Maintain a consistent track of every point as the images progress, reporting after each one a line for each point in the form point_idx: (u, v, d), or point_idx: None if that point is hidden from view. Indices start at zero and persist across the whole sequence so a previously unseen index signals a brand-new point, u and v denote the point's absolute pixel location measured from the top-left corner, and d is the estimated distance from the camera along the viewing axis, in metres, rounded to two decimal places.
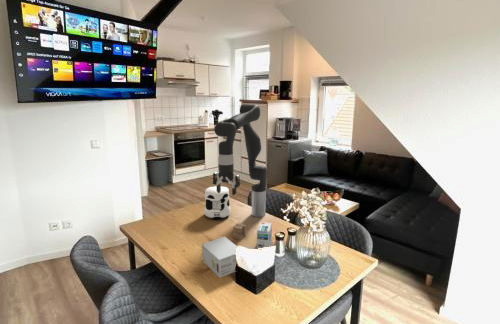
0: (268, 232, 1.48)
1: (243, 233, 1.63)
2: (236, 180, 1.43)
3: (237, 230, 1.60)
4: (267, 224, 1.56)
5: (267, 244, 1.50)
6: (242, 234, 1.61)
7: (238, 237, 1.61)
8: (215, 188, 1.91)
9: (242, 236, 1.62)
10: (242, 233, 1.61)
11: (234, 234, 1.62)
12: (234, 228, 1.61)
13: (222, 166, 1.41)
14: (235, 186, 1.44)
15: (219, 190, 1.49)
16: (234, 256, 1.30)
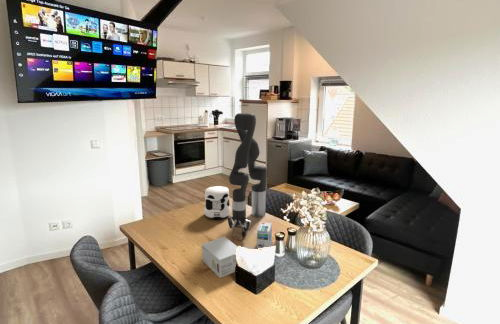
0: (268, 232, 1.48)
1: None
2: (247, 225, 1.59)
3: (237, 230, 1.60)
4: (267, 224, 1.56)
5: (267, 244, 1.50)
6: None
7: (238, 237, 1.61)
8: (215, 188, 1.91)
9: None
10: None
11: (234, 234, 1.62)
12: (234, 228, 1.61)
13: (236, 211, 1.57)
14: (245, 230, 1.60)
15: None
16: (234, 256, 1.30)
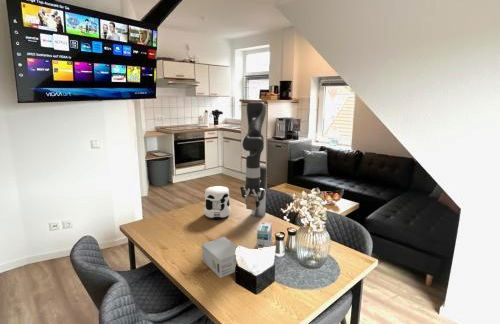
0: (268, 232, 1.48)
1: None
2: (262, 194, 1.49)
3: (251, 200, 1.51)
4: (267, 224, 1.56)
5: (267, 244, 1.50)
6: None
7: (251, 207, 1.52)
8: (215, 188, 1.91)
9: None
10: None
11: (247, 204, 1.52)
12: (247, 197, 1.52)
13: (249, 179, 1.48)
14: (259, 199, 1.51)
15: None
16: (235, 256, 1.31)
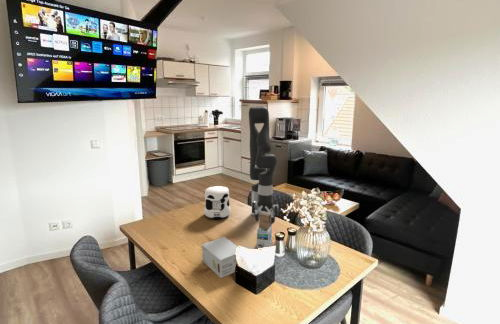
0: (268, 232, 1.48)
1: (269, 222, 1.52)
2: (276, 210, 1.47)
3: (264, 219, 1.50)
4: None
5: (267, 244, 1.50)
6: (269, 223, 1.51)
7: (264, 226, 1.51)
8: (215, 188, 1.91)
9: (269, 225, 1.51)
10: (269, 222, 1.51)
11: (260, 223, 1.51)
12: (260, 216, 1.50)
13: (262, 196, 1.46)
14: (274, 215, 1.49)
15: (258, 218, 1.54)
16: (235, 256, 1.31)
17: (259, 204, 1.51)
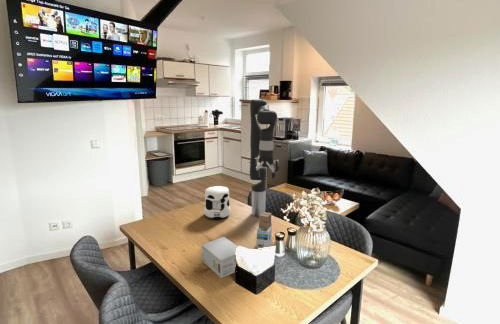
0: (268, 232, 1.48)
1: (269, 222, 1.52)
2: (276, 164, 1.54)
3: (263, 219, 1.50)
4: None
5: (267, 244, 1.50)
6: (268, 223, 1.51)
7: (264, 226, 1.51)
8: (215, 188, 1.91)
9: (268, 225, 1.51)
10: (268, 222, 1.51)
11: (260, 223, 1.51)
12: (260, 216, 1.50)
13: (264, 151, 1.53)
14: (275, 170, 1.56)
15: (259, 174, 1.61)
16: (235, 256, 1.31)
17: (260, 160, 1.57)
